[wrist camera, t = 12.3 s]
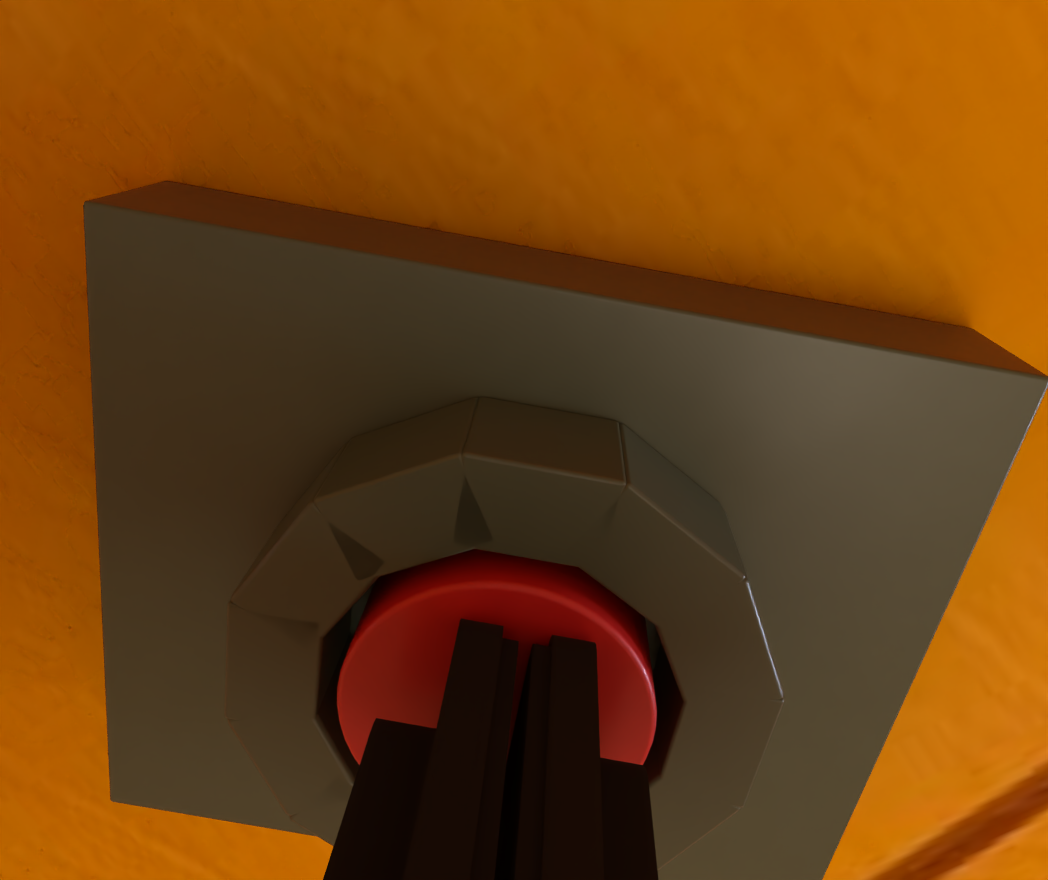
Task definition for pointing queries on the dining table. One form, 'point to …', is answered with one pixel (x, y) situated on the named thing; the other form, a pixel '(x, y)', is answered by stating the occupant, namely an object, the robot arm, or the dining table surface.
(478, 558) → the button
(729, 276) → the dining table surface
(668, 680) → the button box
